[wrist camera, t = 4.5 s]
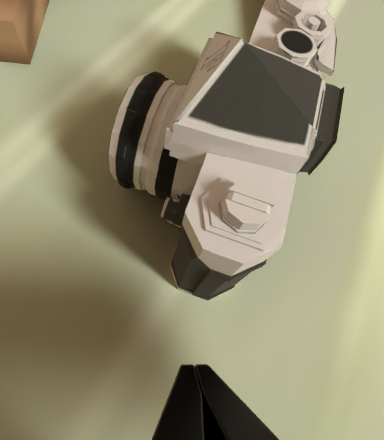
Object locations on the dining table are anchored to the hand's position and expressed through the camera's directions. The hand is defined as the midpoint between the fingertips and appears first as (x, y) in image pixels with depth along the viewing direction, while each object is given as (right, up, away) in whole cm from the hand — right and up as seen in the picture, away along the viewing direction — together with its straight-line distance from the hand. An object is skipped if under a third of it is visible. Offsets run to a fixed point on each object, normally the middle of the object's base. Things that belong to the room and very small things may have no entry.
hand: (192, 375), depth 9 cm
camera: (+1, +8, +11) cm, 13 cm away
